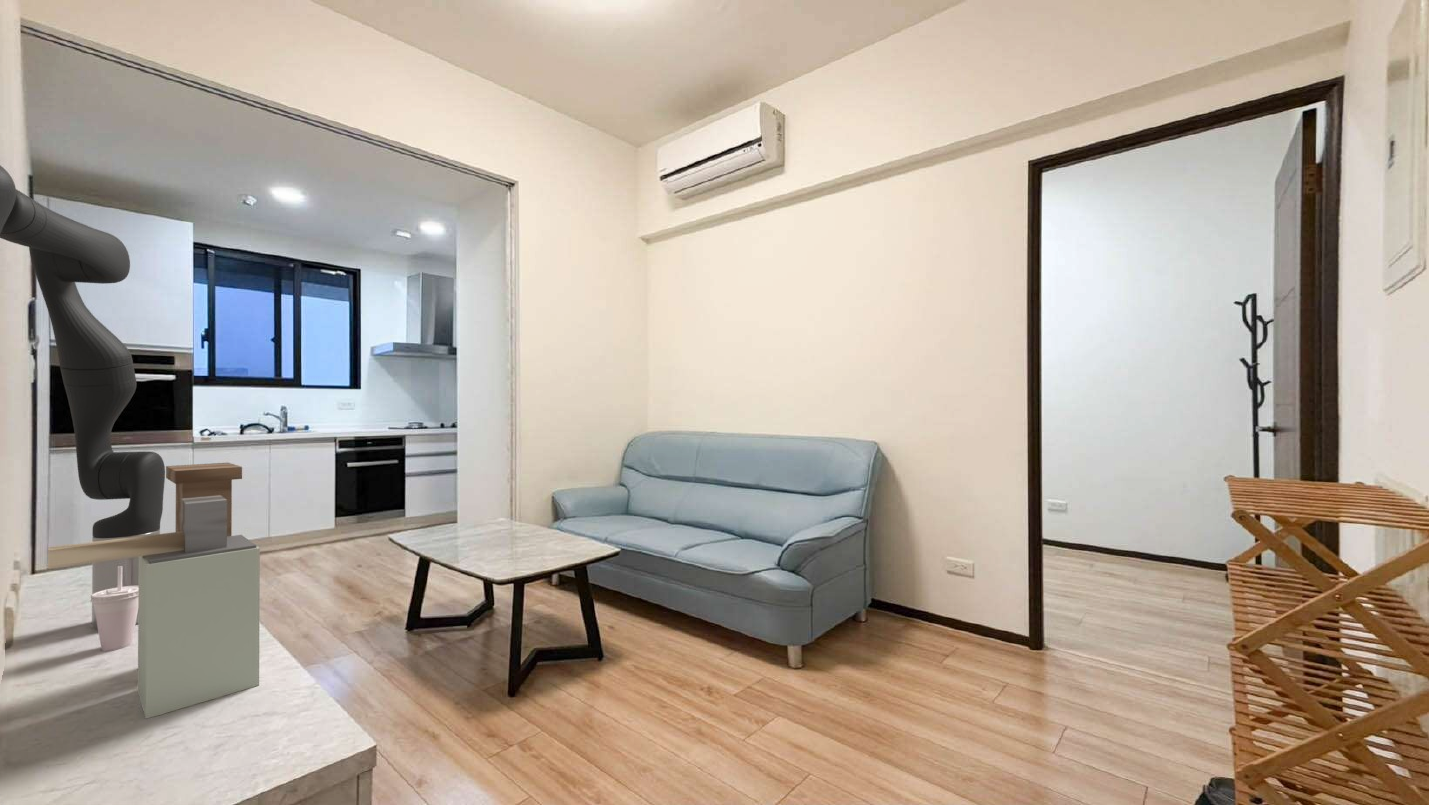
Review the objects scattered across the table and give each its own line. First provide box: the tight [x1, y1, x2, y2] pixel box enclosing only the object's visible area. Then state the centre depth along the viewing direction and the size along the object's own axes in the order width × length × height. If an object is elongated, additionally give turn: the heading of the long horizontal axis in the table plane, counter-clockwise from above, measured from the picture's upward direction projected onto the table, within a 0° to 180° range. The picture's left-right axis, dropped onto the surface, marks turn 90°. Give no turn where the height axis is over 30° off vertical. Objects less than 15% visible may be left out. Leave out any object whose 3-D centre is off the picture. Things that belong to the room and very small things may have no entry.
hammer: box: [47, 495, 227, 570], centre depth 79 cm, size 7×17×7 cm, turn 137°
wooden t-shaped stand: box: [165, 462, 243, 537], centre depth 94 cm, size 12×8×32 cm, turn 49°
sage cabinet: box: [137, 534, 261, 719], centre depth 84 cm, size 12×12×21 cm
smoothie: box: [89, 566, 139, 652], centre depth 98 cm, size 6×6×14 cm
